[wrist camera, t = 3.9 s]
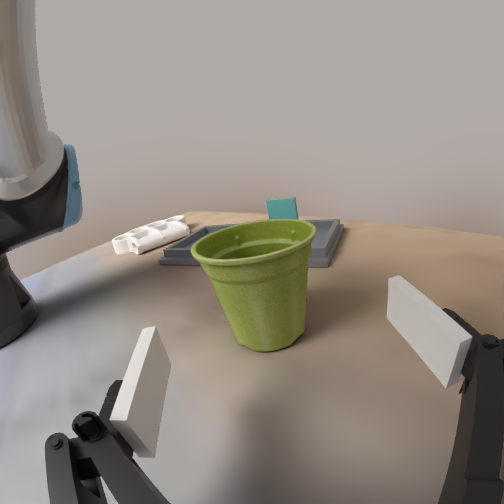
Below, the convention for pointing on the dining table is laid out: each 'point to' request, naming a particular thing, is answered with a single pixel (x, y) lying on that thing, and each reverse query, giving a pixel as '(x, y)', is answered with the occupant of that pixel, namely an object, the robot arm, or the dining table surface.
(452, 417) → the dining table surface
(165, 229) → the knuckle duster
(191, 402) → the dining table surface
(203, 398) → the dining table surface
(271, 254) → the plant pot
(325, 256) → the tray
